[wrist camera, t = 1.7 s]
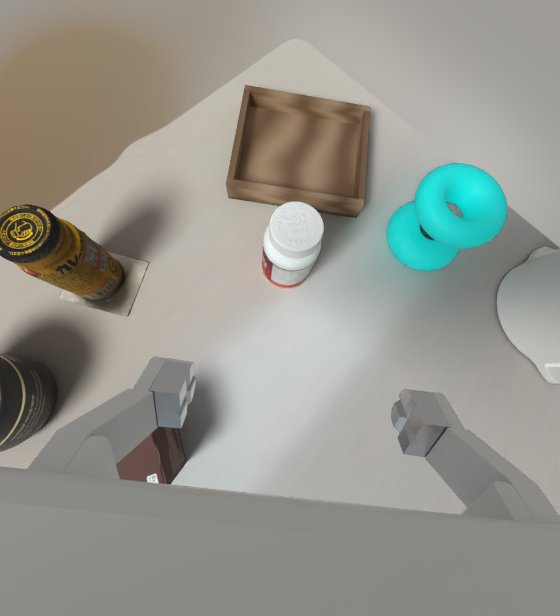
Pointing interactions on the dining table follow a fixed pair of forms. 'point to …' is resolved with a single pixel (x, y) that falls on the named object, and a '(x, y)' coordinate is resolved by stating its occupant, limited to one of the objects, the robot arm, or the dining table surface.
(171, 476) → the box
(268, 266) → the pill bottle
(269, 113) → the tray
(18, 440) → the jar
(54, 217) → the condiment
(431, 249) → the donuts
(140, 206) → the dining table surface
